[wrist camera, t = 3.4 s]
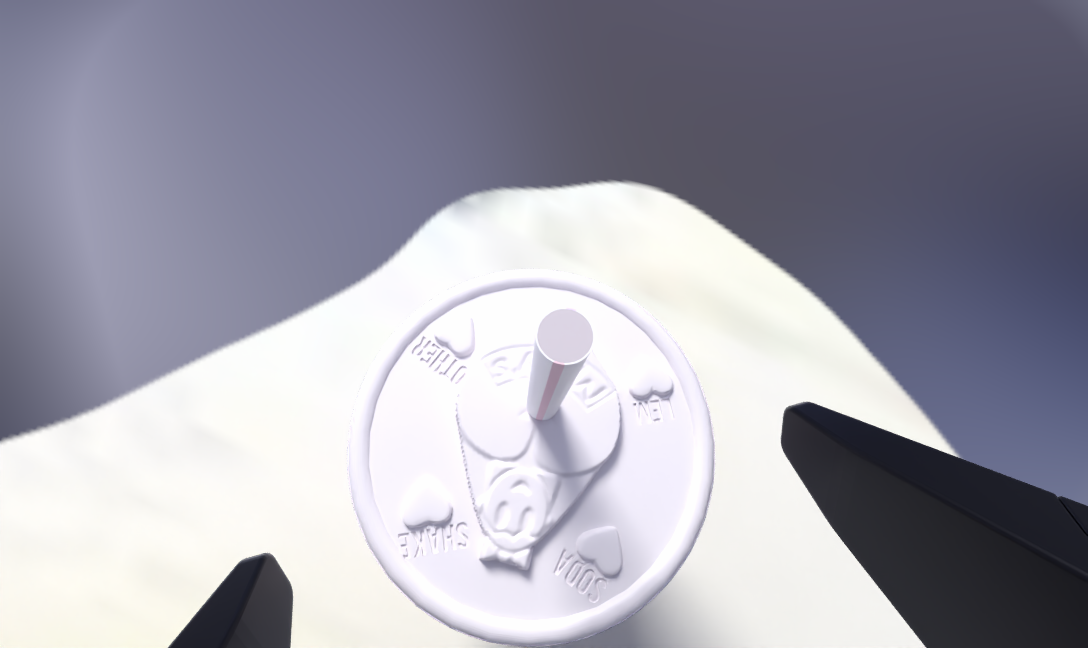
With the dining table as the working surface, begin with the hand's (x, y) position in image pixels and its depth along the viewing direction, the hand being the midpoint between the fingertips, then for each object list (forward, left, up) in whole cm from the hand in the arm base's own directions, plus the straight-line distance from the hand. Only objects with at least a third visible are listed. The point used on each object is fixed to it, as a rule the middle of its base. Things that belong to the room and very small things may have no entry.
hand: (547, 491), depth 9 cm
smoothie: (+1, 0, -9) cm, 10 cm away
